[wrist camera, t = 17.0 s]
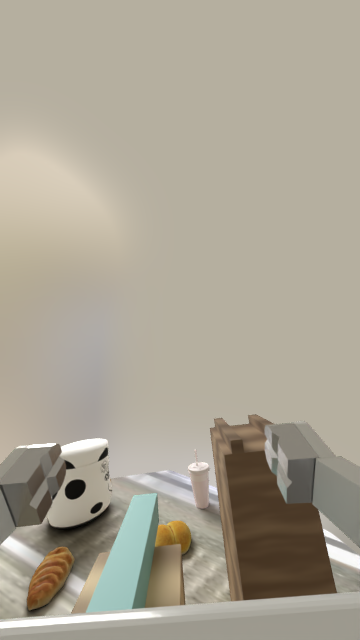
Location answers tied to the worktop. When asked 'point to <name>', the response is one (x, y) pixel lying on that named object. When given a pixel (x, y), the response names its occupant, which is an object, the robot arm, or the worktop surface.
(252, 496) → the button stand
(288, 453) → the robot arm
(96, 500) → the milk container
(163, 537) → the bread roll
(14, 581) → the worktop surface
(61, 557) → the pastry
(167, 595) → the oak block
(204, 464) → the smoothie
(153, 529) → the long teal plank
